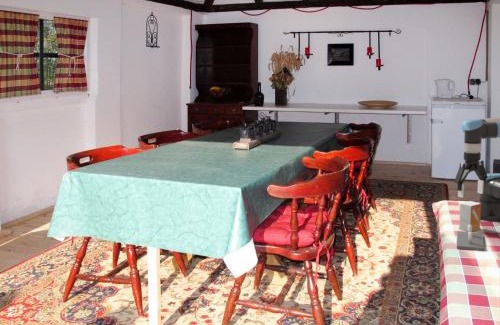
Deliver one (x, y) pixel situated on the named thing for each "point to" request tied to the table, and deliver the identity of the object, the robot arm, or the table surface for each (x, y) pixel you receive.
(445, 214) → the table surface
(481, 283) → the table surface
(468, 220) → the small box
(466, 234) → the pin tray
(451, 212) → the table surface
